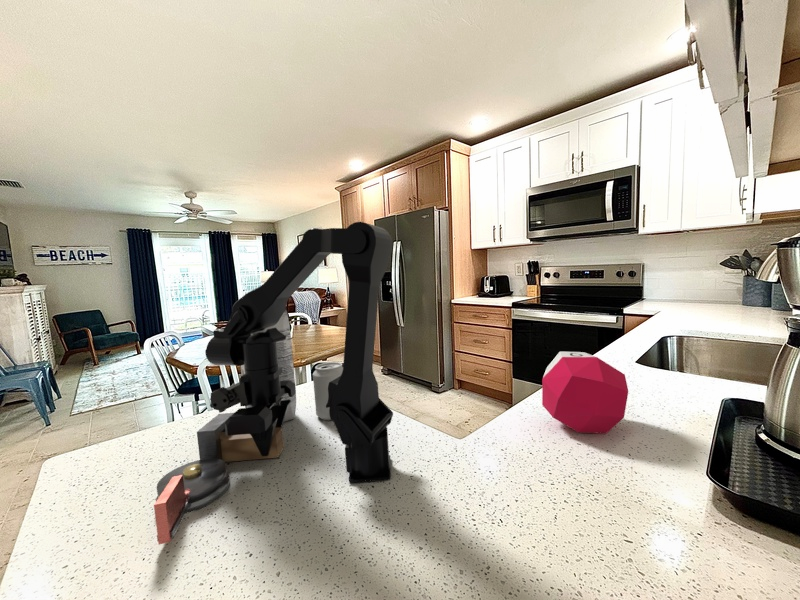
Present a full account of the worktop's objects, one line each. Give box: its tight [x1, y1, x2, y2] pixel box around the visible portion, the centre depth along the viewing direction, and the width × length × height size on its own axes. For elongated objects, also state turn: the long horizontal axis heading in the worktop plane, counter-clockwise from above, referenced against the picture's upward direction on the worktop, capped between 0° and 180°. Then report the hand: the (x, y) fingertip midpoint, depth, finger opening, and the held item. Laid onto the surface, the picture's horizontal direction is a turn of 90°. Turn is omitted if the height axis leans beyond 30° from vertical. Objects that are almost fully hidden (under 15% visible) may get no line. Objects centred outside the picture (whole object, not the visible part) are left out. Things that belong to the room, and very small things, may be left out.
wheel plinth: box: [155, 471, 231, 515], centre depth 51 cm, size 10×10×1 cm
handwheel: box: [153, 458, 228, 545], centre depth 47 cm, size 16×9×5 cm, turn 17°
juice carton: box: [240, 309, 297, 423], centre depth 76 cm, size 9×10×27 cm
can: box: [312, 361, 343, 421], centre depth 77 cm, size 8×8×12 cm
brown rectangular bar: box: [220, 426, 285, 463], centre depth 61 cm, size 14×4×4 cm, turn 93°
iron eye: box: [196, 412, 235, 460], centre depth 60 cm, size 3×8×7 cm, turn 2°
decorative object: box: [541, 351, 629, 435], centre depth 64 cm, size 15×15×15 cm
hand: (269, 448), depth 61 cm, fingers open, 4 cm apart
